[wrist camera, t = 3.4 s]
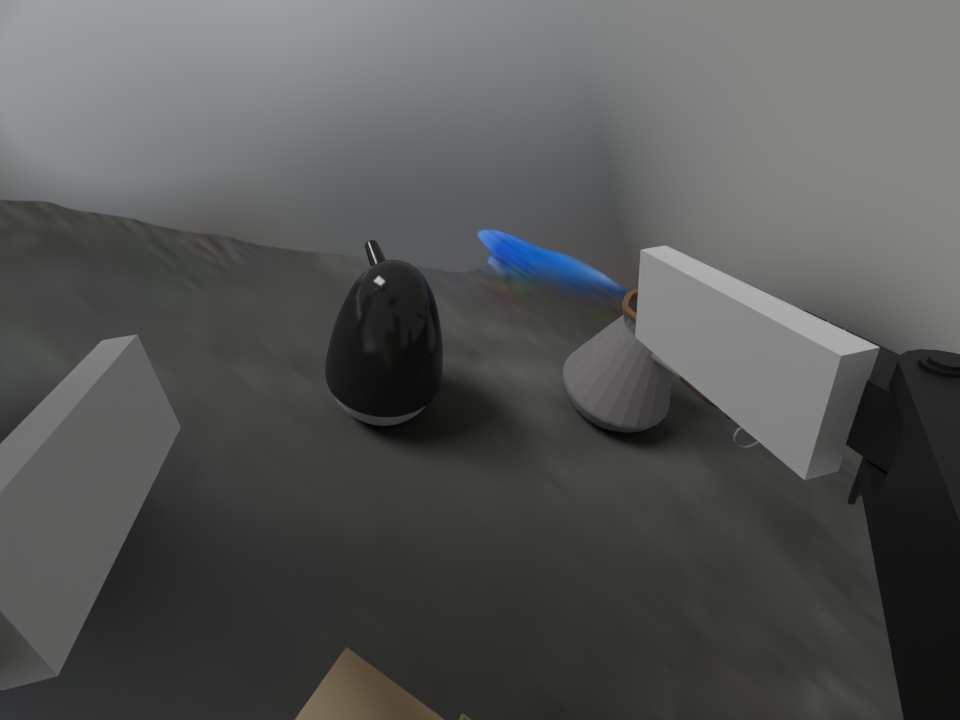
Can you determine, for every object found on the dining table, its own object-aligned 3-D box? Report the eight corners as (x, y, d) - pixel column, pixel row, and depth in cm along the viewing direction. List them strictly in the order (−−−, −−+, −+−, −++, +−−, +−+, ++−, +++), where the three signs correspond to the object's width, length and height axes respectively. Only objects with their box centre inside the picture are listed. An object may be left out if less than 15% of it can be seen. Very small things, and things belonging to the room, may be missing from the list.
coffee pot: (544, 362, 57) (591, 247, 47) (635, 369, 60) (698, 261, 50) (597, 541, 42) (684, 427, 32) (717, 539, 44) (831, 434, 34)
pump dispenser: (407, 353, 53) (427, 224, 43) (452, 425, 47) (488, 295, 37) (310, 374, 48) (307, 234, 38) (347, 458, 42) (355, 318, 32)
